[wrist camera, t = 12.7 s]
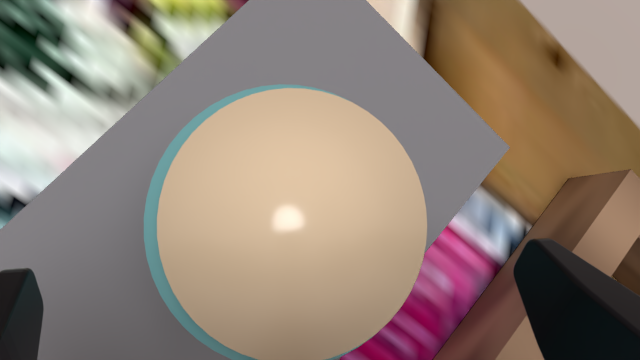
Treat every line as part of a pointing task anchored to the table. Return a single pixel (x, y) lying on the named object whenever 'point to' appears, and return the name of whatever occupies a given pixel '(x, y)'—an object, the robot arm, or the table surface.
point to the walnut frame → (577, 236)
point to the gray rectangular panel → (174, 114)
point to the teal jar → (284, 225)
